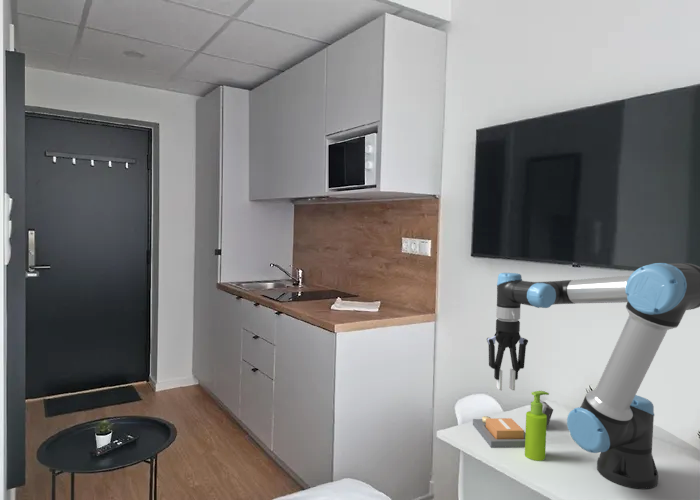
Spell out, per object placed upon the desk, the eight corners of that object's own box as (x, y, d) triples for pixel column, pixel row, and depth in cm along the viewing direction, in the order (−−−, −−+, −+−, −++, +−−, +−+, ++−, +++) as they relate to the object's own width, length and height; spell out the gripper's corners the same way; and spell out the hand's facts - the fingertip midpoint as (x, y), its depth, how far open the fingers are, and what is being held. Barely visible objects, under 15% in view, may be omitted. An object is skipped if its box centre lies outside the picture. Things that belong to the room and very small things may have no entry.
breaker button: (523, 439, 154) (523, 430, 154) (496, 439, 154) (496, 430, 154) (511, 426, 164) (511, 417, 164) (485, 427, 164) (485, 418, 164)
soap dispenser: (552, 458, 145) (554, 394, 144) (534, 462, 142) (536, 396, 142) (537, 450, 150) (540, 387, 150) (520, 453, 148) (522, 390, 147)
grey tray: (533, 447, 153) (534, 436, 152) (491, 447, 152) (491, 436, 151) (510, 424, 171) (511, 414, 170) (472, 424, 170) (473, 414, 169)
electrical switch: (527, 420, 175) (530, 395, 174) (541, 422, 175) (544, 397, 174) (536, 431, 165) (539, 405, 165) (551, 433, 165) (554, 407, 165)
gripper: (527, 317, 162) (525, 385, 163) (479, 317, 161) (477, 385, 162) (537, 321, 154) (535, 392, 155) (487, 321, 153) (484, 392, 154)
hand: (505, 388), depth 158 cm, fingers open, 4 cm apart
